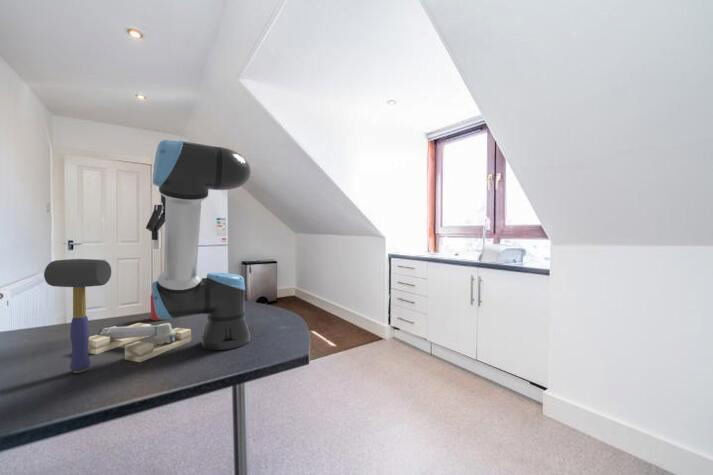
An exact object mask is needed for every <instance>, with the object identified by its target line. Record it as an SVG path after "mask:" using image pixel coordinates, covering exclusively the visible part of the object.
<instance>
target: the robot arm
mask: <svg viewBox="0 0 713 475" xmlns="http://www.w3.org/2000/svg"><path fill="white" fill-rule="evenodd" d="M250 177H251V167H250V163H249V162H248V160H247V159H246V158H245V157H244V156H243V155H242V154H241V153H238V152H237V151H235V150H232V149H230V148H227V147H222V146H213V145H208V144H202V143H195V142H190V141H184V140H172V139H171V140H170V139H163V140H161V141H160V142H159V143H158V145H157V147H156V152H155V158H154V164H153V172H152V184H153V185H154V186H156V187H158V192H159V194H160V202H161V204H155V205H153V206H154V207H153V211H152V213H151V216H150V218H149V220H148V221H147V225H146V226H145V229H146V230H149V232H151V240H152V242H153V243H152V245H153V246H152V247H153V248H152V249H153V250H161V248H162V246H161V242H162V241H161V239H162V238H161V236H162V235H161V233H162V232H161V231H159V230H160V229H161V228H162V226H163V225H164V254H163V256H164V257H163V260H164V262H163V272H161V273H160V274H159V275H158V277H157V280H156V281H153V282H152V283H151V290H152V291H151V294H152V293H153V300H154V307H155V312H156V316H157V317H158V318H159V319H165V320H175V319H180V318H186V317H194V316H203V315H207V318H206V319H207V321H206V325H205V327H204V330H203V335H202V336H201V347H202V348H203V349H205V350H210V351H224V350H231V349H235V348H239V347H240V348H241V347H242V346H245V345H247V343H249V342H250V341H251V333H250V330H249V326H248V323H247V320H246V317H245V312H246V310H245V309H246V308H245V307H246V306H245V305H246V304H245V303H246V302H245V301H246V298H245V295H246V293H245V291H246V286H245V279H244V277H243V276H242V275H241V274H237V273H228V272H208V273H207V275H206V277H202V274H201V273H200V272H199V271H197V270H198V258H199V257H198V256H199V242H200V230H201V229H200V226H201V214H202V202H203V200H206V199H207V198H208V197H209V190H211V191H213V190H215V191H228V190H233V189H238V188H240V187H242V186H243V185H245V184H246V183H247V182H248V181H249V179H250Z"/></svg>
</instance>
